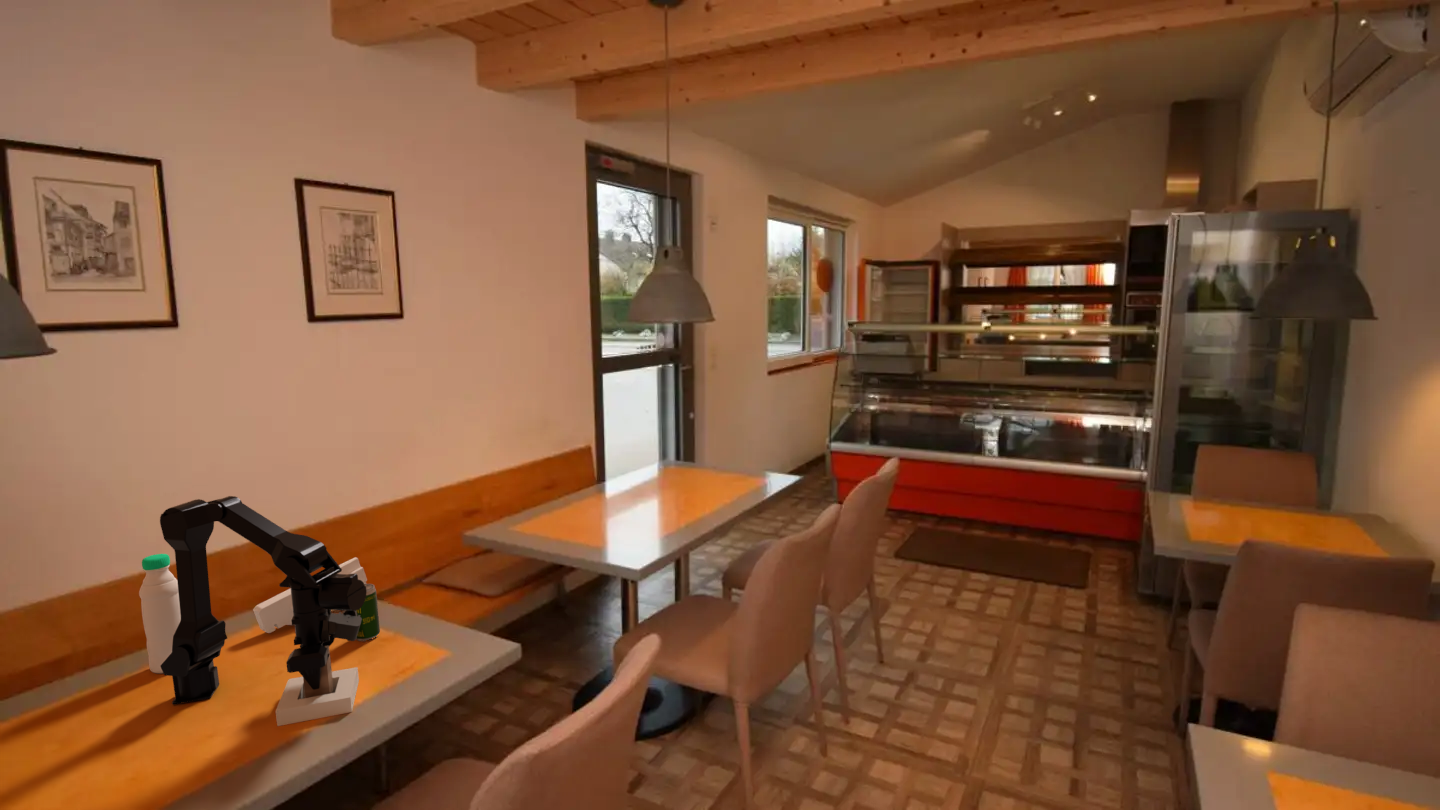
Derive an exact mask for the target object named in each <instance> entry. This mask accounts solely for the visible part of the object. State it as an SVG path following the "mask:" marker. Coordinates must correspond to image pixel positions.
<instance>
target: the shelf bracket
mask: <svg viewBox="0 0 1440 810" xmlns="http://www.w3.org/2000/svg"><path fill="white" fill-rule="evenodd" d="M338 565H339V566H340V568H341V569H342V571H341V572H339V573H338V574H357V575H358V580H361V581H362V582H363V583H364V584H367V581H368V578H367V575H366V572H365V569H364V567H363V566H361V564H360V560H359V558H358V557H356V556H355V557H353V558H351V559H348V560H347V561H344V562H343V563H340V564H338ZM252 611H253V613H254V615H255V619H256V621H257V624H258V626H259V629H260V630H262V631H263V632H265V633H268V634H271V633H273V632H274V631H276V628H277V629H280V628H282V627H285V626H286V625H287V626H293V625H292V621H291V620H292V618H293V616H294V615H293V605H292V596H291V588H290V587H289V588H288V589H286V590H285V591H282V592H280V593H278V594H276V595H274V596H272V597H271V598H268V599H267V600H264V601H262V602H260V603H258V604H257V605H255V607H254V608H253V609H252Z"/></svg>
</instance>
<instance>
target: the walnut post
mask: <svg viewBox="0 0 1440 810" xmlns="http://www.w3.org/2000/svg"><path fill="white" fill-rule="evenodd" d="M325 647H326V648H327V652H328V654H329V653H330V654H329V657H328V660H327V662H326V665H325V666H324V667H322V668H321V678H320V687H319V689H315V690H313V689H312V688H311V686H310V685H309V684H308V683H307V681H306V680H305V679H304V677H303V676H302V677H303V680H304V690H305V697H304V698H309V697H314V696H320V695H325V694H331V693H333V692H332V691H333V679H332V671H333V670H332V662H331V652H330V646H329V645H328V646H325Z"/></svg>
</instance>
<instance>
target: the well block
mask: <svg viewBox="0 0 1440 810" xmlns="http://www.w3.org/2000/svg"><path fill="white" fill-rule="evenodd" d="M358 670H359V668H358V666H355V667H350V668H346V669H345V668H344V669H337V670H334V671H333V670H332V679H333V691H332V693H331V694H325V695H320V696H314V697H309V698H305V690H304V680H303V676H298V677H293V678H289V679H288V680H287V682H286V685H285V688H284V689H283V692H282V695H281V697H280V699H279V701H278V704H277V706H276V709H275V716H276V717H275V718H276V719H275V720H276V724H277V727H281V726H284V725H291V724H296V723H302V722H306V721H310V720H317V719H323V718H327V717H332V716H337V715H342V714H348V713H353V709H354V703H355V699H356V694H357V691H358V686H359V682H360V679H359V678H360V677H359V671H358Z"/></svg>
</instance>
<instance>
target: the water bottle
mask: <svg viewBox="0 0 1440 810" xmlns="http://www.w3.org/2000/svg"><path fill="white" fill-rule="evenodd" d="M170 564H171V558H170V555H169V554H168V553H157V554H151V555H148V556H146V557H144V558H142V561H141V566H142V569H143V571H144V572H145V577H144V578H143V580H142V584H141V586H140V587H139V591H138V596H139V598H140V599H141V601H140V602H141V603H140V604H141V605H140V607H141V616H142V624H143V629H144V633H145V637H146V650H147V653H148V665H149V666H148V667H149V670H150V671H151V672H152V673H153V674H164V673H163V671H162V669H161V664H162V663H163V662H164V661H165V660H166V659H167V658H168V656H169V655H170V654H171V653H172V644H173V636H174V633H175V631H176V629H177V627H178V625H179V623H180V621H181V614H180V603H179V592H178V581H177V577H175V576H174V574H173V573H172V572H171V571H170V569H169V568H170V566H171V565H170Z"/></svg>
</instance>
